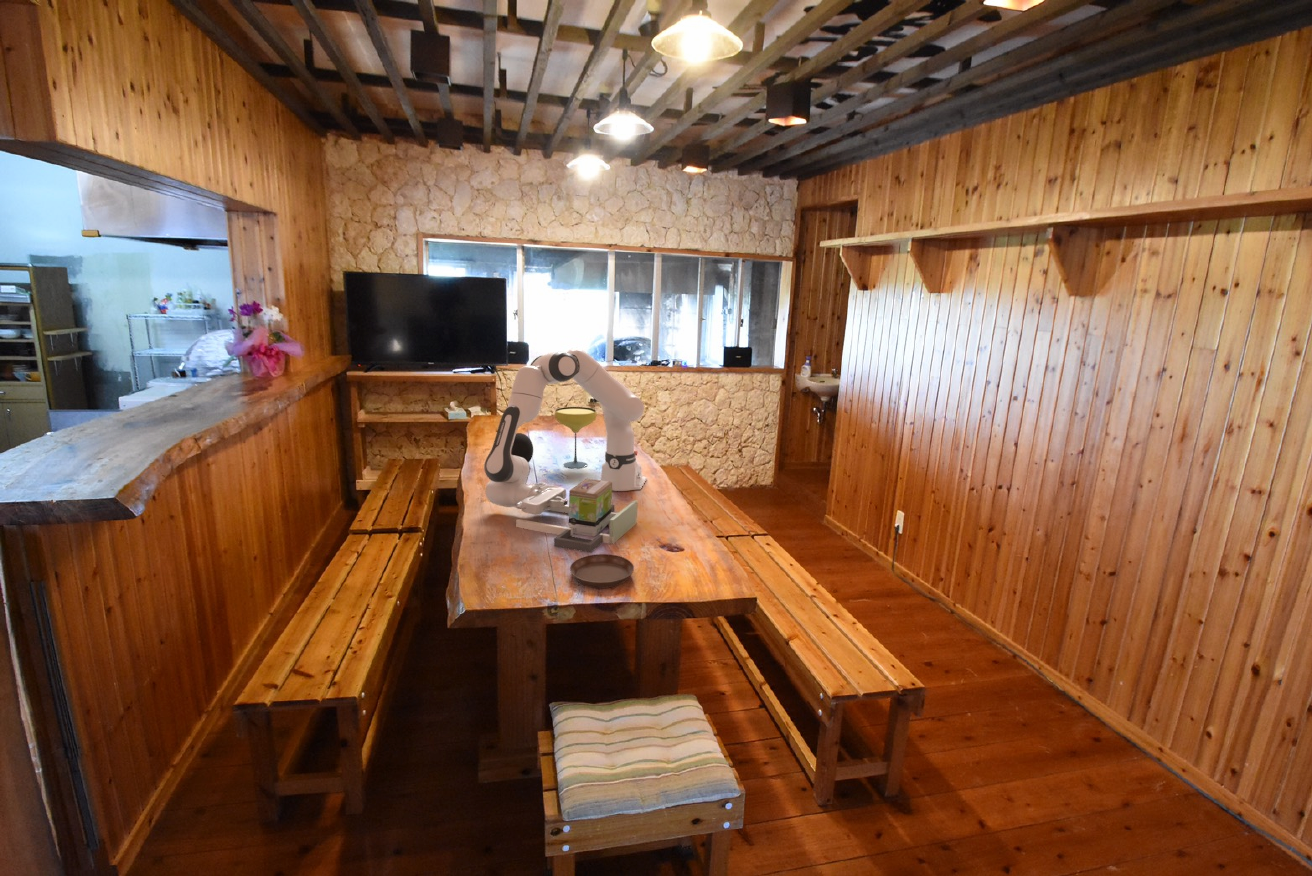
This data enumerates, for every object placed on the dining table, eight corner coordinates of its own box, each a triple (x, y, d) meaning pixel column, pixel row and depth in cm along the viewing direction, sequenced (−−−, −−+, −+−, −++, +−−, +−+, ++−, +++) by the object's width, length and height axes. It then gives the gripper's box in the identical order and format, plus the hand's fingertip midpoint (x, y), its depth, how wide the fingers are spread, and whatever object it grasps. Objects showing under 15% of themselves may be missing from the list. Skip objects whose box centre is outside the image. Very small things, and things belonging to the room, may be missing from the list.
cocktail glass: (602, 463, 290) (603, 409, 284) (582, 473, 274) (582, 416, 268) (569, 458, 297) (569, 405, 291) (547, 467, 281) (546, 411, 275)
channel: (547, 508, 229) (546, 487, 227) (636, 523, 217) (637, 500, 216) (516, 527, 210) (515, 504, 208) (612, 544, 199) (613, 520, 197)
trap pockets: (583, 506, 232) (583, 500, 231) (635, 514, 225) (635, 508, 225) (531, 541, 198) (531, 534, 198) (590, 552, 192) (590, 544, 191)
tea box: (596, 537, 204) (597, 493, 201) (567, 533, 206) (567, 489, 203) (612, 521, 218) (612, 480, 215) (584, 518, 221) (584, 477, 217)
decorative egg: (499, 468, 276) (498, 434, 273) (513, 461, 288) (513, 429, 284) (525, 471, 273) (524, 437, 269) (538, 464, 284) (538, 431, 281)
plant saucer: (609, 597, 165) (609, 587, 164) (556, 580, 174) (556, 569, 173) (645, 573, 180) (646, 563, 179) (595, 558, 188) (595, 548, 188)
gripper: (512, 497, 208) (550, 503, 203) (544, 481, 226) (579, 486, 222) (513, 515, 209) (550, 522, 205) (544, 497, 228) (578, 503, 223)
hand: (565, 503), depth 213 cm, fingers closed
